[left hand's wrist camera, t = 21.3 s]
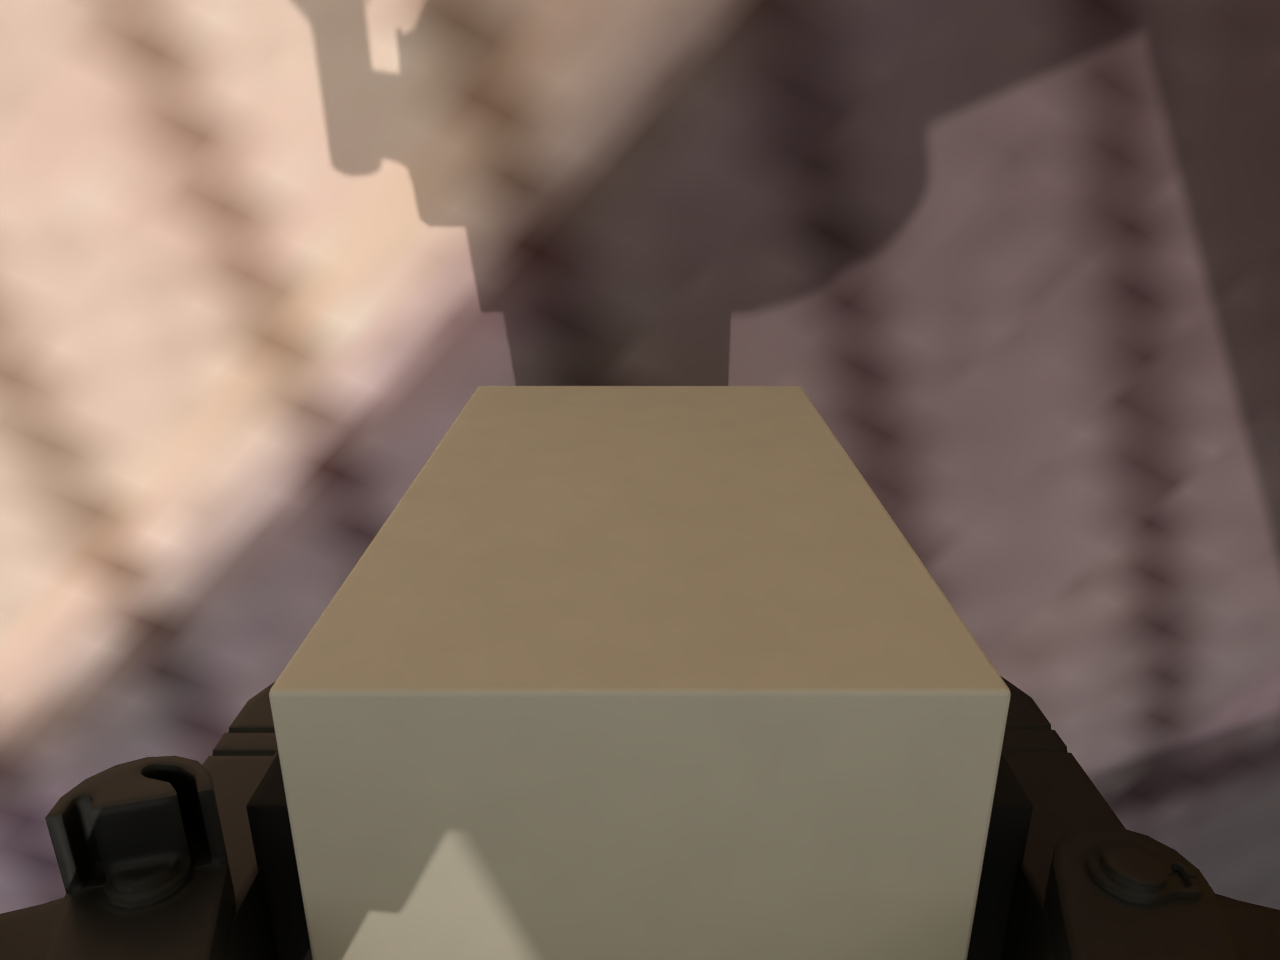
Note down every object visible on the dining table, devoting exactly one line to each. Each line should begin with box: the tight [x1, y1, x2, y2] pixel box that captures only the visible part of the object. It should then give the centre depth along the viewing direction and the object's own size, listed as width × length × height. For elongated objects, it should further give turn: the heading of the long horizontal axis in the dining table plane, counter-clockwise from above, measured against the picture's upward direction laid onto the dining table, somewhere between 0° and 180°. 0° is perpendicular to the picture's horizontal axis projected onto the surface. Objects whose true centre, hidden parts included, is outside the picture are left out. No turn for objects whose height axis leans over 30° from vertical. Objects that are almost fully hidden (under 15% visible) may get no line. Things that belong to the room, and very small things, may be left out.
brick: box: [269, 386, 1011, 960], centre depth 12 cm, size 6×6×9 cm
